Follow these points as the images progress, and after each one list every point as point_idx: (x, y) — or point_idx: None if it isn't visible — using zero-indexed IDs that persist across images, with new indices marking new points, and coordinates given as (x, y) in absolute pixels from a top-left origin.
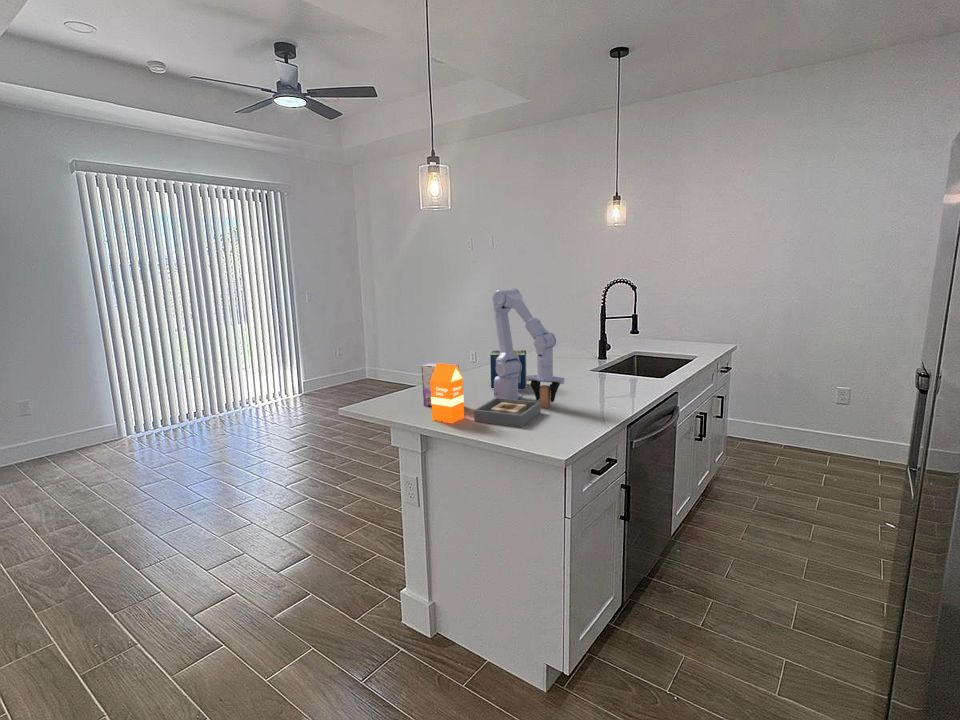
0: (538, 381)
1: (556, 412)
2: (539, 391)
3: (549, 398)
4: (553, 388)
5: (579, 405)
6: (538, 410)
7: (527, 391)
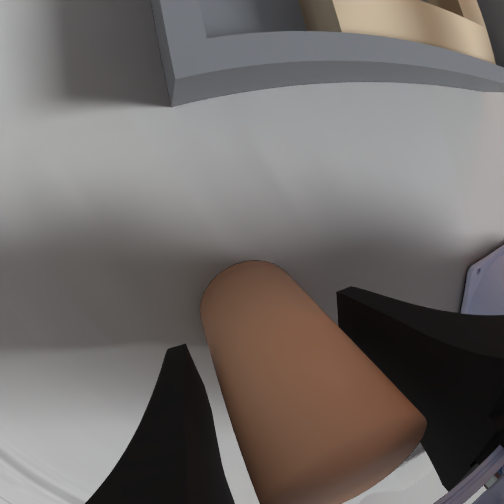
0: (488, 458)
1: (50, 225)
2: None
3: (217, 370)
4: (116, 500)
5: (86, 449)
6: (159, 38)
7: None
